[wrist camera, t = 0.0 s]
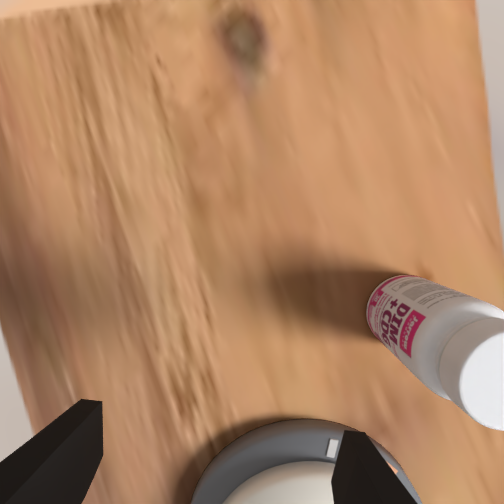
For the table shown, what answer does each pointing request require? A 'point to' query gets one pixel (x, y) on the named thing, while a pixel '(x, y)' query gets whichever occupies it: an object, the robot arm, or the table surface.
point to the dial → (287, 485)
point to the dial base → (278, 455)
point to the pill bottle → (444, 342)
